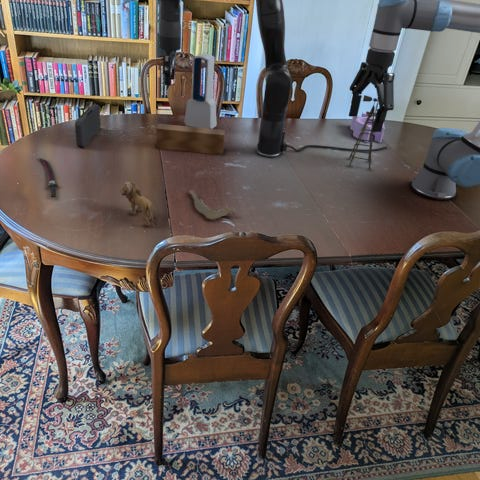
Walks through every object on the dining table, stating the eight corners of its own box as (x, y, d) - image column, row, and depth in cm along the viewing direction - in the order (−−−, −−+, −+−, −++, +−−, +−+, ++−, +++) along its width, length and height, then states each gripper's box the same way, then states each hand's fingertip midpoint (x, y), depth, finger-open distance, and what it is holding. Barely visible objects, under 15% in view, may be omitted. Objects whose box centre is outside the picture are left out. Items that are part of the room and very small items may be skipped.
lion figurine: (118, 210, 138) (116, 182, 133) (132, 204, 141) (131, 177, 137) (151, 229, 130) (150, 201, 126) (165, 223, 134) (165, 195, 129)
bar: (156, 148, 180) (156, 128, 175) (159, 143, 184) (159, 123, 180) (222, 154, 180) (224, 135, 176) (223, 149, 185) (224, 130, 181)
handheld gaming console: (94, 127, 192) (92, 103, 187) (101, 127, 192) (99, 103, 187) (76, 147, 173) (73, 121, 167) (83, 148, 173) (80, 122, 167)
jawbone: (218, 227, 136) (218, 221, 134) (170, 202, 146) (169, 197, 145) (238, 214, 141) (238, 209, 140) (190, 191, 152) (190, 186, 151)
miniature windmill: (370, 170, 181) (390, 92, 164) (348, 166, 182) (366, 88, 166) (369, 161, 188) (389, 86, 172) (348, 157, 189) (366, 82, 173)
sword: (61, 197, 141) (61, 193, 140) (50, 198, 139) (50, 194, 139) (49, 160, 164) (48, 156, 163) (39, 160, 163) (39, 157, 162)
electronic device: (216, 128, 205) (221, 56, 188) (210, 133, 198) (214, 59, 182) (190, 122, 207) (193, 51, 191) (183, 127, 201) (185, 54, 185)
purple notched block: (343, 126, 223) (346, 112, 219) (367, 127, 225) (371, 113, 221) (360, 142, 206) (364, 127, 202) (386, 142, 209) (390, 127, 205)
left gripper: (178, 39, 154) (177, 88, 163) (183, 31, 166) (182, 78, 175) (155, 36, 154) (155, 86, 163) (162, 29, 166) (162, 76, 175)
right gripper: (420, 60, 122) (398, 138, 133) (369, 41, 141) (353, 110, 153) (396, 60, 119) (376, 139, 131) (348, 40, 139) (333, 110, 150)
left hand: (169, 82), depth 169 cm, fingers open, 8 cm apart
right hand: (364, 123), depth 142 cm, fingers open, 13 cm apart
